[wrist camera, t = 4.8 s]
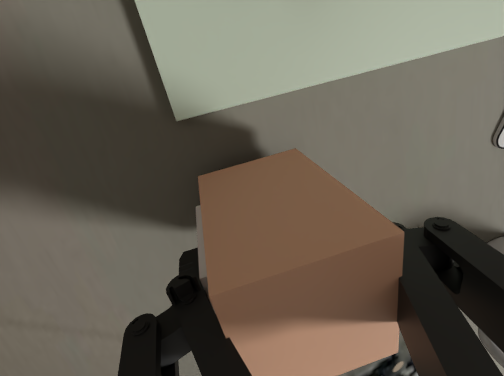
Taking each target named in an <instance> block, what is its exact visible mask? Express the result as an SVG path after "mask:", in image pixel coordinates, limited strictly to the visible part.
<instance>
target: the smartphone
mask: <svg viewBox="0 0 504 376" xmlns="http://www.w3.org/2000/svg"><path fill="white" fill-rule="evenodd" d="M493 144H494V145H495V146H496V147H498V148H501V149H504V117H503V119H502V121H501V123H500V125H499V127H498V129H497V131H496V133H495V135H494V138H493Z"/></svg>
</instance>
